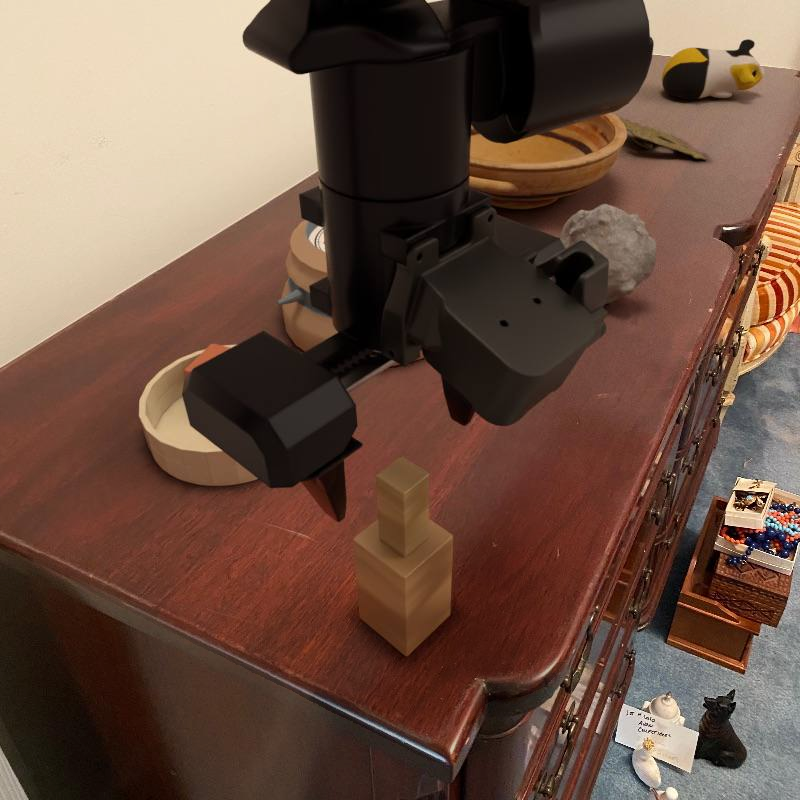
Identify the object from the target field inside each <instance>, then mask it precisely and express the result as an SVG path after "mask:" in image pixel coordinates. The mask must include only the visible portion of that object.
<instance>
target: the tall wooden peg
mask: <svg viewBox="0 0 800 800" xmlns="http://www.w3.org/2000/svg"><path fill="white" fill-rule="evenodd" d="M375 487H376V488H375V489H376V504H377V505H376V506H377V507H376V508H377V519H378V526H379V539H380V540H382V541H383V542H384V543H386V544H387V545H388V546H390V547H391V548H392V549H394V550H395V551H396V552H398V553H399V554H400V555H402V556H403V557H406V556H408V555H409V554H410V553H411V552H412V551H413V550H415V549H416V548H417V547H418V546H419V545H420V544H422V543H423V542H424V541H425V540H426V539H427V538H428V537H429V519H430V473H429V472H428V471H426V470H424V469H423V468H421V467H420V466H419V465H417V464H415V463H414V462H412V461H410V460H409V459H407V458H406V457H405V456H400V457H398V458H397V459H396V460H394V461H393V462H392V463H390V464H389V465H388V466H386V467H385V468H384V469H382V470H381V471H380V472H378V473H377V474H376V475H375Z"/></svg>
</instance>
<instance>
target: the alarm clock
mask: <svg viewBox="0 0 800 800" xmlns="http://www.w3.org/2000/svg"><path fill="white" fill-rule="evenodd" d="M322 222H323V221H322ZM289 247H290V248H289V250H288V254H287V256H286V260H285V268H286V272H287V275H288V276H289V277H288V278H287V280H286V281H285V284H284V287H283V290H282V293H281V298H280V299H278V300H277V301H276V303H277V305H278V306H281V308H282V316H283V321H284V327H285V332H286V334H287V336H288V337H289V338H290V339H291V341H292V342H293V343H294V345H295V346H296V347H297V348H299V349H300V350H301V351H303V352H305V351H307V350H309V349H310V348H312V347H314V346H316V345H317V344H319V343H321V342H323V341H324V340H326V339H328V338H329V337H331V336H333V335H335V334H336V333H338V332H337V331H336V329H335V328H334V326H333V321H332V317H331V316H329V315H327V314H325V313H323V312H322V311H320V310H318V309H316V308H314V307H312V306H311V300H310V291H309V285H311V284H313V283H315V282H317V281H319V280H321V279H323V278H325V277H327V265H326V254H325V243H324V232H323V228H322V227H320V226H318V225H315V224H313V223H311V222H309V221H307V220H305V219H303V221H301V222H300V223H299V224H298V225H297V226H296V228H294V230H293V231H292V233H291V236H290V239H289ZM422 359H425V358H424V356H423V353H422V350H420V357H419V358H418V359H416V360H415V361H414V362H417V361H419V360H422ZM395 366H401V365H400V364H398V363H395V364H393V365H392V366H391V367H395Z"/></svg>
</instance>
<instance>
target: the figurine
mask: <svg viewBox="0 0 800 800" xmlns="http://www.w3.org/2000/svg"><path fill="white" fill-rule="evenodd" d="M755 44H756V43H755V41H754V40H752V39H750V38H749V39H743V40H742V41H741V42H740V44H739V47H738V49H732V50H731V49H729V50H727V49H724V50H723V49H710V48H702V47H687V48H683V49H681V50H679V51H678V52H676V53H675V54H673V56H671V58H670V59H669V60H668V62H667V63H666V64H665V65H664V68H663V70H662V75H661V84H662V89H663V90H664V92H665V93H666V94H667V95H670V96H673V97H676V98H679V99H682V100H698V99H704V98H707V97H713V98H718V99H727V98H730V97H732V96H733V95H734V94H733V92H735V91H738V92H739V91H746V90H750V89H752V88H754V87H755V86H757V85H758V84H759V83H760V82H761V81H762V80H763V78H764V77H765V74H766V72H765V71H766V70H765V69H764V67H763V66H762V65H761V64H760V62H759V61H758V60H757V59H756V57H754V56H753V54H751V52H750V51H751V50H752V49H753V48H754V47H755V46H756V45H755Z"/></svg>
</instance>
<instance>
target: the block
mask: <svg viewBox="0 0 800 800" xmlns="http://www.w3.org/2000/svg"><path fill="white" fill-rule="evenodd" d="M228 349H230V348H229V347H225V346H223V345H222V344H217V343H213V342H212V343H211V344H209V345H208V347H207V348H205V350H204V349H203V350H204V351H203V352H202V353H201V354H200V355H199V356H198V357H197V358H196V359H195V360H194V361H193V362H192V363H191V364H190V365H189V366H188V367H186V368H185V369H184V374H185V376H186V375H187V374H188V373H189V372H190V371H191V370H192V369H193V368H195V367H197V366H198V365H200V364H202V363H204V362H206V361H208V360H210V359H211V358H213V357H215V356H217V355H219V354H221V353H223V352H224V351H226V350H228Z"/></svg>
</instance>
